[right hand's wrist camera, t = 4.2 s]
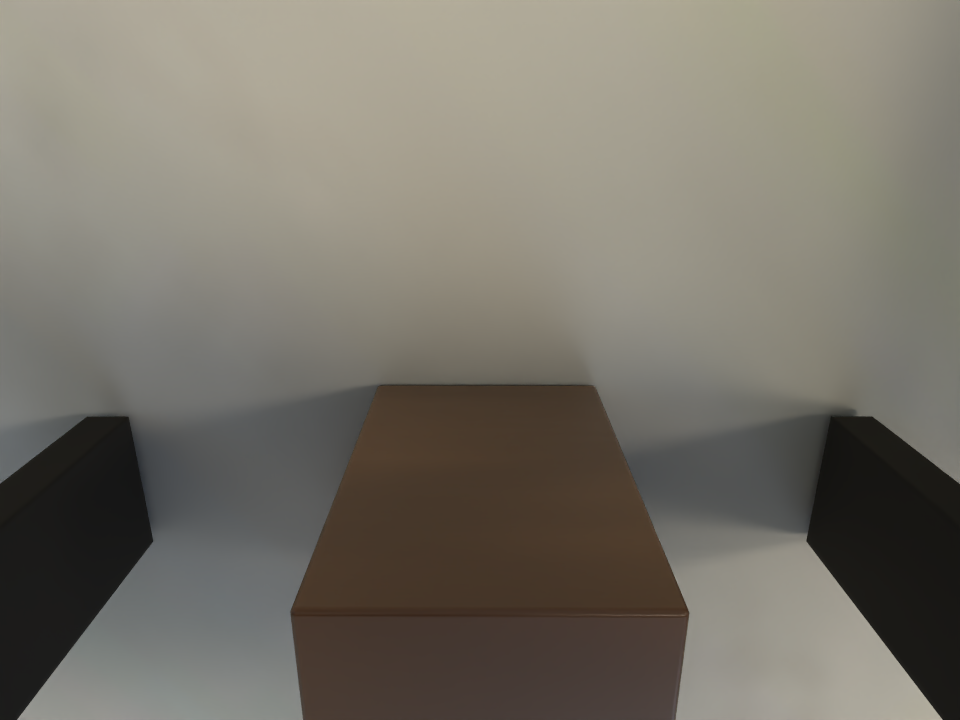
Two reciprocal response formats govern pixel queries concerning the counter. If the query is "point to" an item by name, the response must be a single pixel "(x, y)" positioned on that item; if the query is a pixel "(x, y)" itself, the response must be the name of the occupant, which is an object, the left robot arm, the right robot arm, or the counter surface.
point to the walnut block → (488, 568)
